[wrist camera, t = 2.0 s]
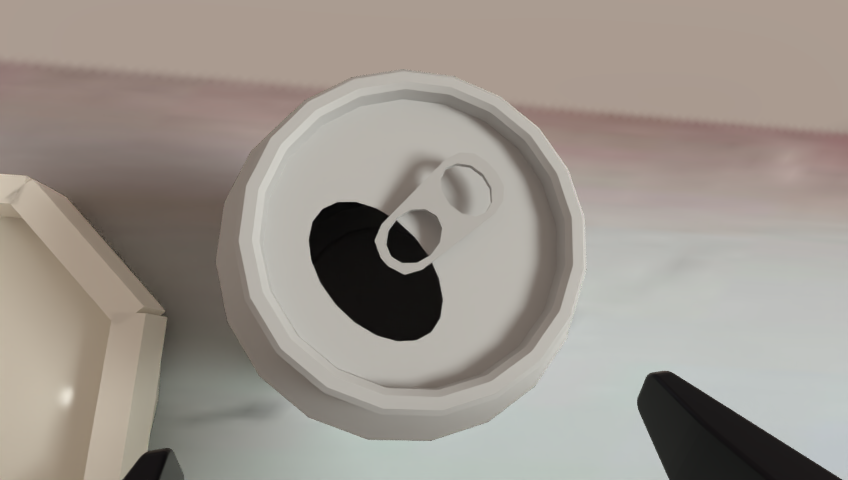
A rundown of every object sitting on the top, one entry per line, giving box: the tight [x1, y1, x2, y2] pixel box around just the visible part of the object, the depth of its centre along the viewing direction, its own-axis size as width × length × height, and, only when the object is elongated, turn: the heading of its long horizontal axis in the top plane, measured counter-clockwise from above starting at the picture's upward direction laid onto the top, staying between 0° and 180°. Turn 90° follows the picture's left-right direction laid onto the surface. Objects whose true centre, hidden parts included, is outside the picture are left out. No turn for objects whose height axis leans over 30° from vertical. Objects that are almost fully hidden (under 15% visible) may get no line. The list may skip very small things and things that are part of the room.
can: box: [216, 69, 587, 441], centre depth 14 cm, size 8×8×12 cm
